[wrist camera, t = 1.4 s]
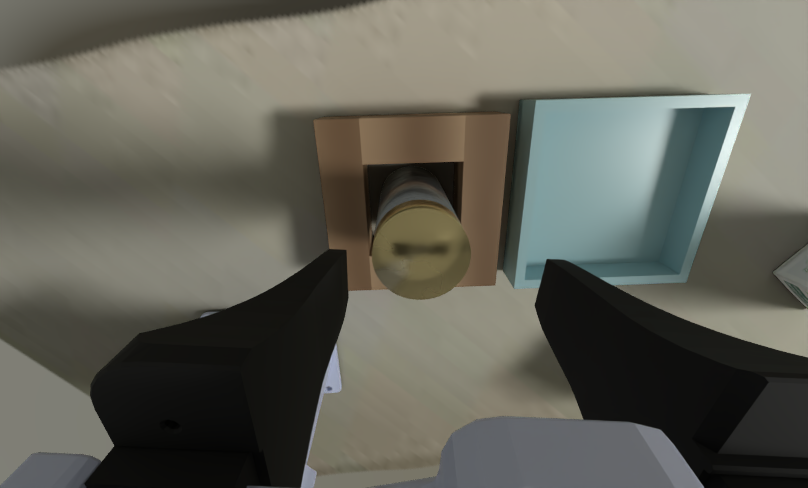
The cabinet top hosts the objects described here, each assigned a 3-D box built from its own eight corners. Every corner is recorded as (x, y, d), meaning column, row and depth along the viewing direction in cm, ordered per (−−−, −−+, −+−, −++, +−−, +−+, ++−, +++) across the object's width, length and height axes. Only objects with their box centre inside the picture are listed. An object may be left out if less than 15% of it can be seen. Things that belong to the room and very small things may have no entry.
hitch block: (341, 268, 24) (334, 291, 21) (324, 116, 20) (313, 119, 17) (483, 263, 24) (495, 285, 21) (494, 111, 20) (510, 114, 17)
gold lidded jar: (382, 227, 23) (374, 301, 15) (378, 166, 21) (368, 211, 13) (441, 225, 23) (468, 297, 15) (443, 164, 21) (473, 207, 13)
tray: (502, 270, 24) (513, 288, 22) (519, 99, 20) (536, 100, 18) (658, 265, 24) (686, 282, 22) (710, 94, 20) (751, 93, 18)
